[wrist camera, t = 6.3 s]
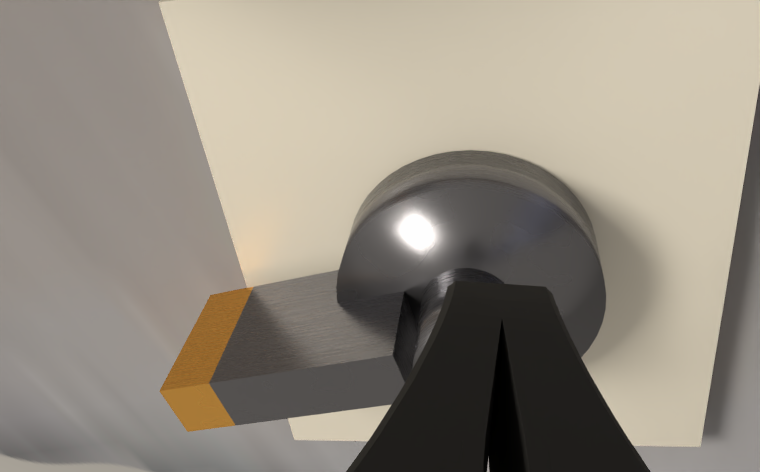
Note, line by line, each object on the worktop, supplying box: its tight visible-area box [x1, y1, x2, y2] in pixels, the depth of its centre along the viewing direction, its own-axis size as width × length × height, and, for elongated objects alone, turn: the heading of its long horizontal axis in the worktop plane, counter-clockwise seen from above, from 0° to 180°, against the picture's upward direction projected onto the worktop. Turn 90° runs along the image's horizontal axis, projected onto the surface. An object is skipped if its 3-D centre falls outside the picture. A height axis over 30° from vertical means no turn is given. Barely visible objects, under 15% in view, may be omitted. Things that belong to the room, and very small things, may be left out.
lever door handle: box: [160, 150, 606, 432], centre depth 19 cm, size 12×7×4 cm, turn 109°
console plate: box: [159, 0, 760, 447], centre depth 20 cm, size 14×16×1 cm
